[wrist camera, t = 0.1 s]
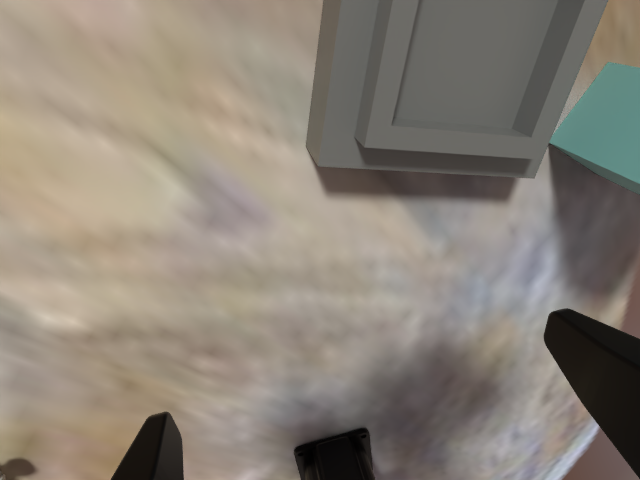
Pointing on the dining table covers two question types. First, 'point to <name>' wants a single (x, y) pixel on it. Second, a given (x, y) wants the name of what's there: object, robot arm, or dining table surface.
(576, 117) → the column brick
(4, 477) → the robot toy
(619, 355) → the robot arm
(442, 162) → the base brick
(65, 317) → the dining table surface
